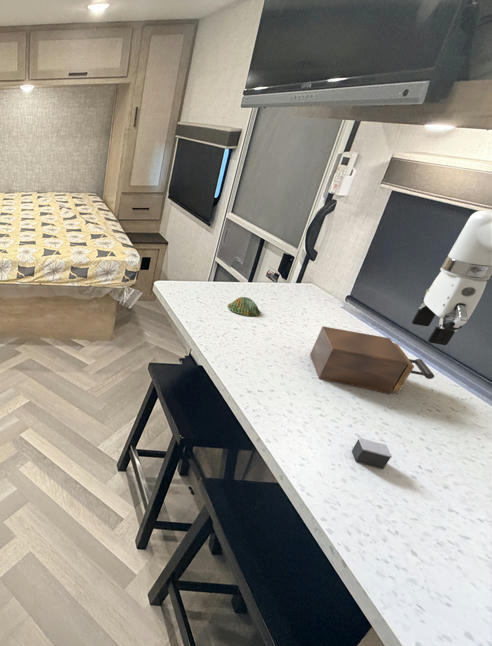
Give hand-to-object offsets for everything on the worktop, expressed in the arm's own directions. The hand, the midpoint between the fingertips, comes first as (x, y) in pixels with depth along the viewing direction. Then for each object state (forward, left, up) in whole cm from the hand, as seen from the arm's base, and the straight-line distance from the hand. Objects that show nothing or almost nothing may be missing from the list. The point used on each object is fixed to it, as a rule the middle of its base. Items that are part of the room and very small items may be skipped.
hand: (427, 333), depth 96 cm
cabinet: (+11, 0, -15) cm, 19 cm away
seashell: (+34, -30, -15) cm, 48 cm away
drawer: (+6, 0, -14) cm, 16 cm away
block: (+15, +35, -15) cm, 41 cm away
